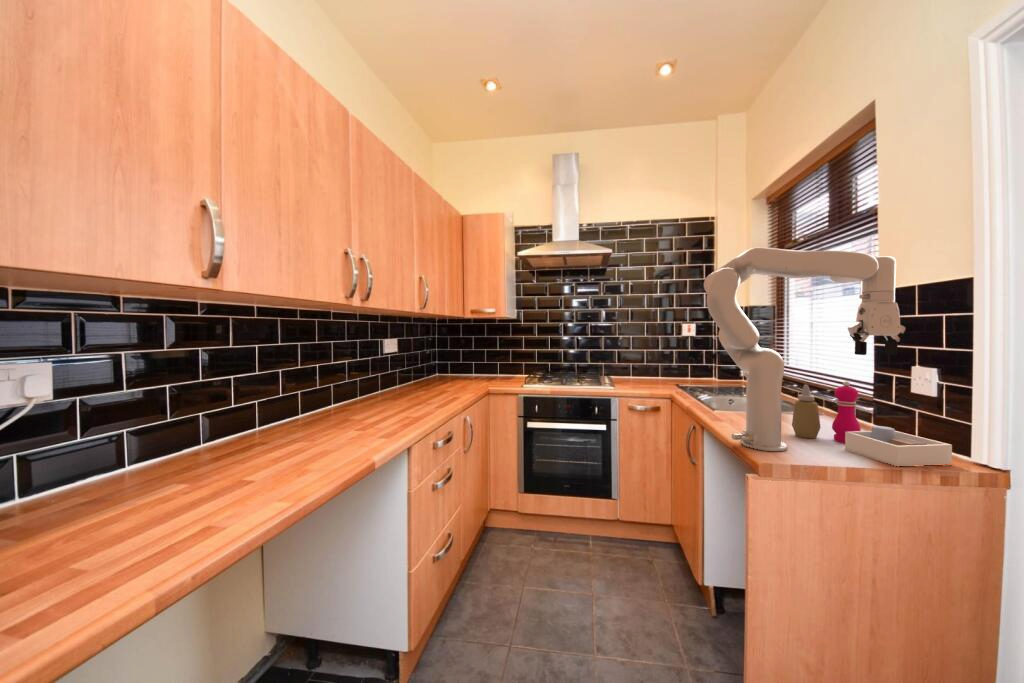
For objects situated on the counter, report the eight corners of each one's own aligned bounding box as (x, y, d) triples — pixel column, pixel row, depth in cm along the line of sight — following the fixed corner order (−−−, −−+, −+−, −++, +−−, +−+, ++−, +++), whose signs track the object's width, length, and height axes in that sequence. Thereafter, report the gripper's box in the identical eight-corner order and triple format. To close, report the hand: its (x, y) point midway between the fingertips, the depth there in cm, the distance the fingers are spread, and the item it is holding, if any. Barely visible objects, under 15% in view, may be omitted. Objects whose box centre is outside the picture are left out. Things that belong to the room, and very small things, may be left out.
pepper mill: (826, 439, 132) (827, 380, 131) (841, 437, 134) (842, 379, 133) (850, 445, 125) (851, 383, 124) (866, 443, 127) (866, 382, 126)
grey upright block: (866, 448, 119) (867, 426, 119) (882, 448, 119) (882, 425, 119) (883, 454, 114) (883, 430, 114) (899, 453, 114) (899, 429, 114)
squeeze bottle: (826, 438, 133) (826, 386, 133) (809, 440, 131) (809, 387, 130) (802, 432, 141) (803, 383, 140) (786, 434, 139) (786, 384, 138)
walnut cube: (909, 462, 107) (909, 444, 107) (890, 456, 112) (890, 439, 112) (926, 461, 108) (926, 443, 107) (906, 455, 113) (907, 438, 112)
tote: (897, 467, 105) (897, 446, 105) (845, 449, 121) (845, 431, 121) (951, 465, 106) (952, 444, 106) (892, 447, 122) (892, 430, 121)
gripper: (862, 297, 114) (860, 355, 114) (917, 297, 115) (915, 355, 115) (839, 299, 121) (837, 354, 122) (891, 299, 122) (890, 353, 123)
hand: (875, 354), depth 118 cm, fingers open, 9 cm apart
